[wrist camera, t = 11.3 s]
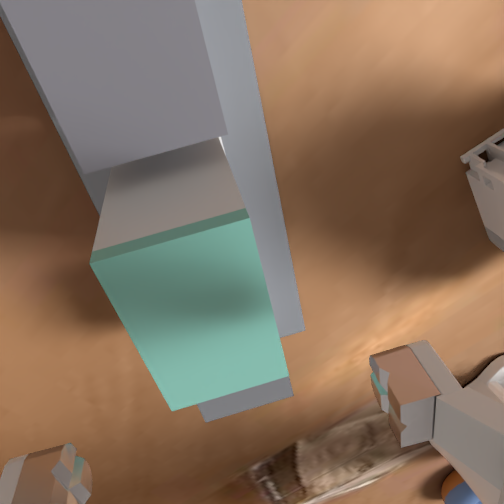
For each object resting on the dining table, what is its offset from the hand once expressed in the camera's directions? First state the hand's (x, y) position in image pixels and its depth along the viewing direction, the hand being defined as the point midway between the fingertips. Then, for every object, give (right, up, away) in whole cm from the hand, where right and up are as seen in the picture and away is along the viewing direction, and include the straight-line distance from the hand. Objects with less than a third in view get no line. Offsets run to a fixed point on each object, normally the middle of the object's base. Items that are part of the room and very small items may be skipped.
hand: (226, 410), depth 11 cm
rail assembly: (-3, +9, +12) cm, 15 cm away
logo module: (-3, +7, +10) cm, 13 cm away
